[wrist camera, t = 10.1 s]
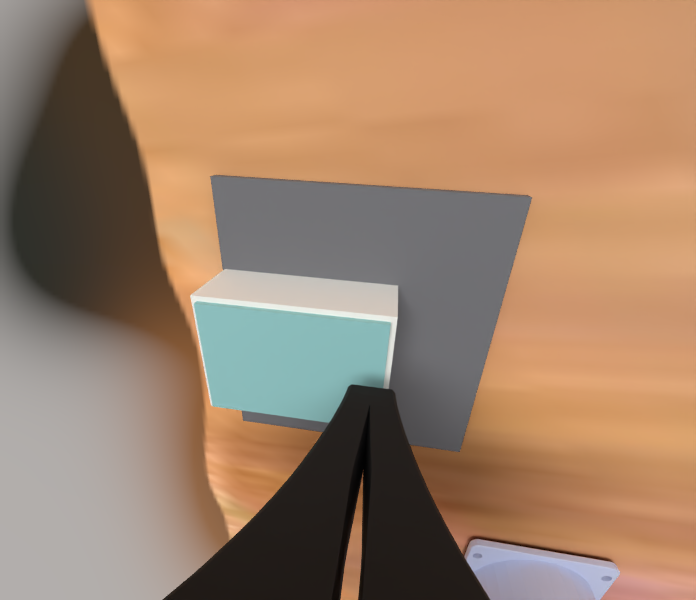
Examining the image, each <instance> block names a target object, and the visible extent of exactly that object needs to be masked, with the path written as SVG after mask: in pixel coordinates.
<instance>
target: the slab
mask: <svg viewBox="0 0 696 600" xmlns="http://www.w3.org/2000/svg"><path fill="white" fill-rule="evenodd" d="M190 296H191V301H192V307H193V312H194V317H195V323H196V328H197V333H198V338H199V344H200V349H201V354H202V360H203V365H204V370H205V376H206V381H207V386H208V391H209V397H210V402H211V406H215V407H222V408H229V409H236V410H243V411H250V412H257V413H264V414H271V415H278V416H285V417H292V418H299V419H306V420H313V421H320V422H327V423H329V422H330V421H331V419H332V418H333V416H334V414H335V412H336V411H337V409H338V407H339V405H340V403H341V402H342V400H343V397H344V395H345V393H346V391H347V388H348V386H350V385H351V384H354V385H362V386H369V387H377V388H385V389H389V382H390V374H391V366H392V358H393V351H394V343H395V335H396V327H397V319H398V286H397V285H387V284H377V283H366V282H356V281H345V280H335V279H324V278H314V277H304V276H293V275H283V274H272V273H262V272H252V271H241V270H231V269H224V270H223V271H221V272H220V273H219V274H218V275H216V276H215V277H214V278H212V279H211V280H210V281H208V282H207V283H206V284H204V285H203V286H202V287H200V288H199V289H198V290H197V291H195V292H194V293H193V294H191V295H190Z"/></svg>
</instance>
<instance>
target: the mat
mask: <svg viewBox="0 0 696 600" xmlns="http://www.w3.org/2000/svg"><path fill="white" fill-rule="evenodd" d="M210 177H211V184H212V192H213V199H214V207H215V214H216V222H217V229H218V237H219V244H220V252H221V259H222V266H223V270H224V269H231V270H241V271H252V272H262V273H272V274H283V275H293V276H304V277H314V278H324V279H335V280H345V281H356V282H366V283H377V284H387V285H397V286H398V319H397V327H396V335H395V343H394V351H393V358H392V366H391V374H390V382H389V389H392V390H393V391H394V392H395V394H396V401H397V406H398V410H399V414H400V417H401V421H402V424H403V427H404V430H405V433H406V436H407V439H408V442H409V444H410V445H415V446H422V447H429V448H436V449H442V450H449V451H456V452H460V449H461V446H462V442H463V439H464V435H465V432H466V428H467V424H468V421H469V417H470V414H471V410H472V407H473V403H474V400H475V396H476V393H477V389H478V386H479V382H480V379H481V375H482V372H483V368H484V365H485V361H486V358H487V354H488V351H489V347H490V343H491V340H492V336H493V333H494V329H495V326H496V322H497V319H498V315H499V312H500V308H501V305H502V301H503V298H504V294H505V291H506V287H507V284H508V280H509V277H510V273H511V270H512V266H513V262H514V259H515V255H516V252H517V248H518V245H519V241H520V238H521V234H522V231H523V227H524V224H525V220H526V217H527V213H528V210H529V206H530V203H531V199H532V197H530V196H528V195H514V194H499V193H484V192H468V191H453V190H438V189H422V188H407V187H392V186H377V185H361V184H346V183H331V182H316V181H300V180H285V179H270V178H255V177H239V176H224V175H213V176H210ZM242 416H243V421H250V422H257V423H264V424H271V425H278V426H285V427H291V428H298V429H305V430H312V431H319V432H324V430H325V429H326V427H327V425H328V424H329V423H327V422H320V421H313V420H306V419H299V418H292V417H285V416H278V415H271V414H264V413H257V412H250V411H243V410H242Z"/></svg>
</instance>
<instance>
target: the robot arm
mask: <svg viewBox="0 0 696 600" xmlns="http://www.w3.org/2000/svg"><path fill="white" fill-rule="evenodd" d="M362 474H363V517H362V559H361V575H360V586H359V597H358V600H600V599H601V598H602V596H603V595H604V594H605V592H606V591H607V590H608V589H609V587H610V586H611V585H612V584H613V582H614V581H615V580H616V579H617V577H618V576H619V574H620V572H619V570H618V568H617V566H616V564H614V563H613V562H610V561H604V560H598V559H592V558H586V557H581V556H575V555H569V554H563V553H557V552H551V551H546V550H540V549H534V548H528V547H522V546H516V545H511V544H505V543H499V542H493V541H487V540H481V539H474V540H472V541H470V543H469V545H468V548H467V551H466V553H465V556H463V554H462V553H461V551H460V549H459V547H458V545H457V544H456V542H455V540H454V538H453V536H452V535H451V533H450V531H449V529H448V527H447V526H446V524H445V522H444V520H443V518H442V516H441V514H440V512H439V510H438V508H437V506H436V504H435V502H434V500H433V498H432V496H431V494H430V492H429V490H428V488H427V486H426V483H425V481H424V479H423V476H422V474H421V472H420V470H419V467H418V465H417V463H416V460H415V458H414V455H413V452H412V450H411V447H410V444H409V442H408V439H407V436H406V433H405V430H404V427H403V424H402V421H401V417H400V414H399V410H398V406H397V401H396V394H395V392H394V391H393V390H392V389H385V388H377V387H369V386H362V385H354V384H351V385H350V386H348V388H347V391H346V393H345V395H344V397H343V400H342V402H341V403H340V405H339V407H338V409H337V411H336V412H335V414H334V416H333V418H332V419H331V421H330V422H329V424H328V425H327V427H326V429H325V430H324V432H323V433H322V435H321V436H320V438H319V439H318V441H317V442H316V443H315V445H314V446H313V448H312V449H311V450H310V452H309V453H308V454H307V456H306V457H305V458H304V460H303V461H302V462H301V464H300V465H299V466H298V468H297V469H296V470H295V471H294V473H293V474H292V475H291V476H290V477H289V479H288V480H287V481H286V482H285V483H284V484H283V486H282V487H281V488H280V489H279V490H278V491H277V493H276V494H275V495H274V496H273V497H272V498H271V499H270V500H269V501H268V502H267V503H266V504H265V506H264V507H263V508H262V509H261V510H260V511H259V512H258V513H257V514H256V515H255V516H254V517H253V518H252V519H251V520H250V521H249V522H248V523H247V524H246V525H245V526H244V527H243V528H242V529H241V530H240V531H239V532H238V533H237V534H236V535H235V536H234V537H233V538H232V539H231V540H230V541H229V542H228V543H227V544H225V546H223V547H222V548H221V549H220V550H219V551H218V552H217V553H216V554H215V555H214V556H213V557H212V558H210V559H209V560H208V561H207V562H206V563H205V564H204V565H203V566H202V567H201V568H199V569H198V570H197V571H196V572H195V573H194V574H193V575H192V576H190V577H189V578H188V579H187V580H186V581H184V582H183V583H182V584H181V585H180V586H178V587H177V588H176V589H175V590H174V591H172V592H171V593H170V594H169V595H168V596H166V597H165V598H164V599H163V600H340V598H341V590H342V582H343V574H344V566H345V560H346V554H347V548H348V543H349V538H350V533H351V528H352V524H353V519H354V514H355V509H356V504H357V499H358V494H359V489H360V484H361V479H362Z"/></svg>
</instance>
